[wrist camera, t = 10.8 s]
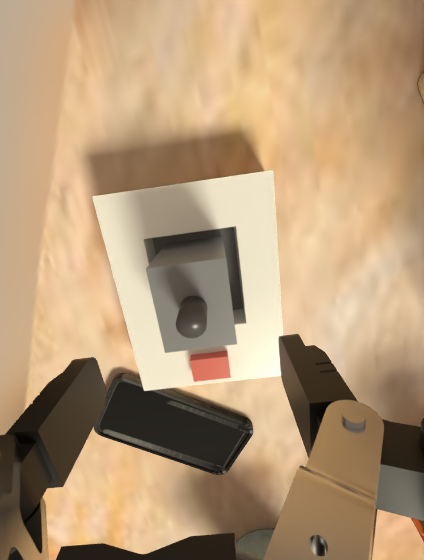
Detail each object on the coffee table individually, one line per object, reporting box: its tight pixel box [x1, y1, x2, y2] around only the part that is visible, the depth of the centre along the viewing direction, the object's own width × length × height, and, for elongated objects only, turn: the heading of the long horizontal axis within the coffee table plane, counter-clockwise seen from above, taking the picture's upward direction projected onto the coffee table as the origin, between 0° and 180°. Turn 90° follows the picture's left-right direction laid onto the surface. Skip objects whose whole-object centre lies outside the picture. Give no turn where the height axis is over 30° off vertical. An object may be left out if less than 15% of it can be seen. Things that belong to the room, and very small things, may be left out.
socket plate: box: [92, 170, 283, 391], centre depth 22 cm, size 12×16×4 cm
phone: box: [94, 373, 253, 475], centre depth 28 cm, size 8×1×15 cm
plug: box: [146, 236, 237, 353], centre depth 18 cm, size 4×6×9 cm
